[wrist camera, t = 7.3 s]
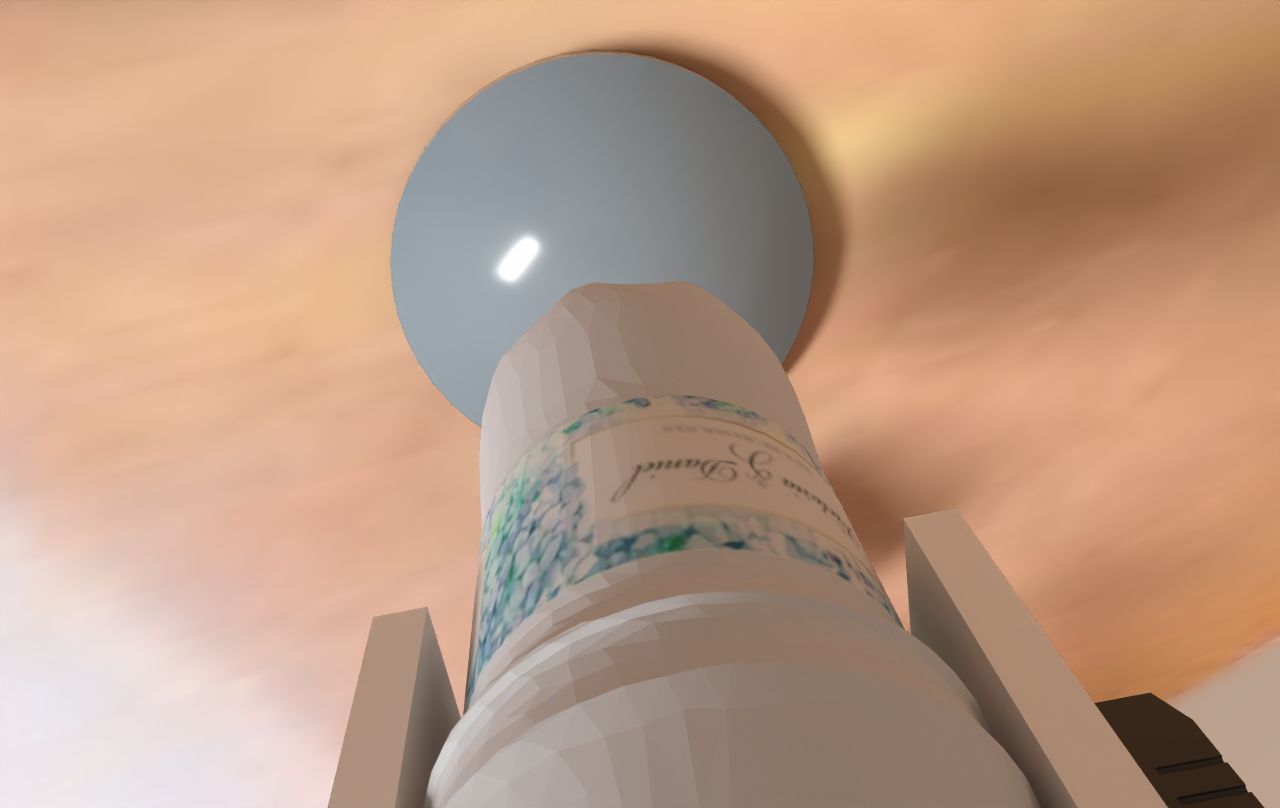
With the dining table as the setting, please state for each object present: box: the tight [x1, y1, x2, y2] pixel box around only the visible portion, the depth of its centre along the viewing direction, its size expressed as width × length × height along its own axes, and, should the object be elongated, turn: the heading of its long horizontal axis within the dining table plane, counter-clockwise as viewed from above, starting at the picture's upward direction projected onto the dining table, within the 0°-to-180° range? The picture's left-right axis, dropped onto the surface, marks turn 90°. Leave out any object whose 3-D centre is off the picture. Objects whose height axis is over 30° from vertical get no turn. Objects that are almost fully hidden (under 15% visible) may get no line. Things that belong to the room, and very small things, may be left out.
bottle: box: [423, 280, 1041, 808], centre depth 14 cm, size 7×7×20 cm
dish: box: [391, 51, 814, 428], centre depth 31 cm, size 12×12×1 cm
